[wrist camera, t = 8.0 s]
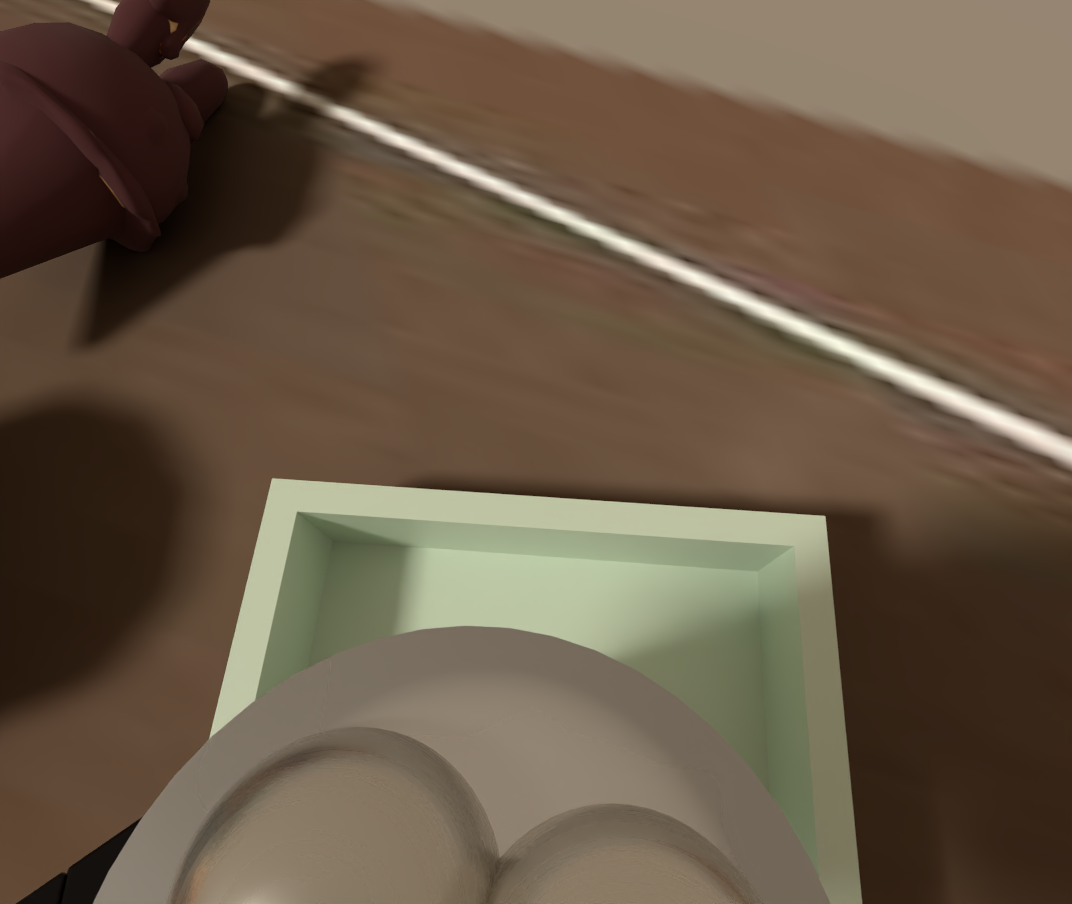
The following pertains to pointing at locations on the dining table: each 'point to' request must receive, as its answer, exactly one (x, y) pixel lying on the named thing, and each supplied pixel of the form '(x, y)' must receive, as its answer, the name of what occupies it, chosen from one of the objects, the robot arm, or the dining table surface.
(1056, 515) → the dining table surface
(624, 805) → the cylinder with three balls
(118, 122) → the icecream
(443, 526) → the pale green bin
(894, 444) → the dining table surface
